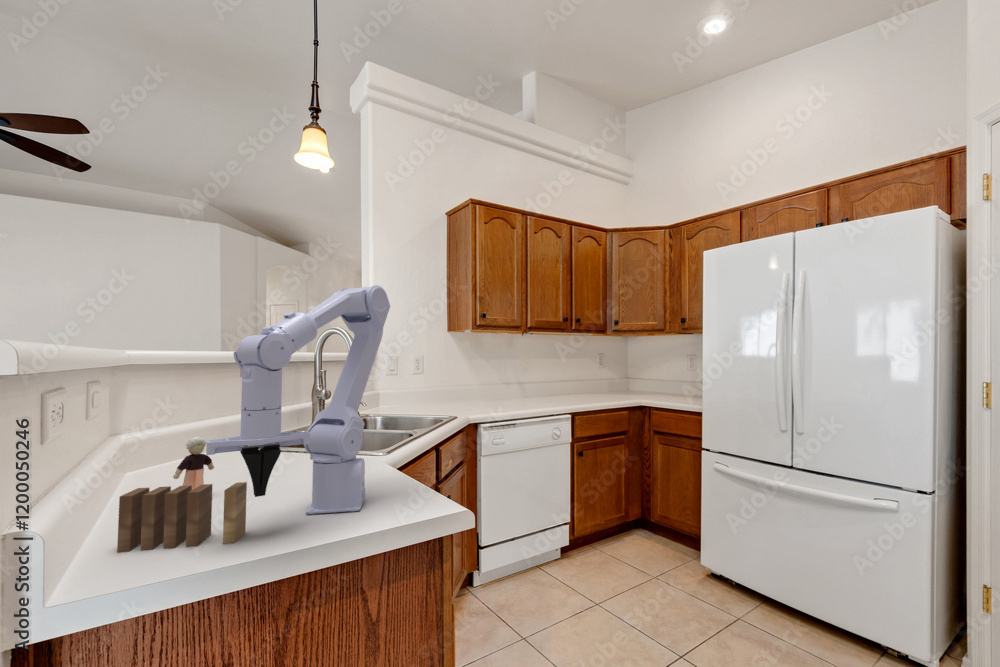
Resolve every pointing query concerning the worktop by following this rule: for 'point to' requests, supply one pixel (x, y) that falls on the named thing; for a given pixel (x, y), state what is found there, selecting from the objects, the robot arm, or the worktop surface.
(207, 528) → the domino
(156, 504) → the domino
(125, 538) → the domino
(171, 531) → the domino
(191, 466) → the grandmother figurine
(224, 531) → the domino
